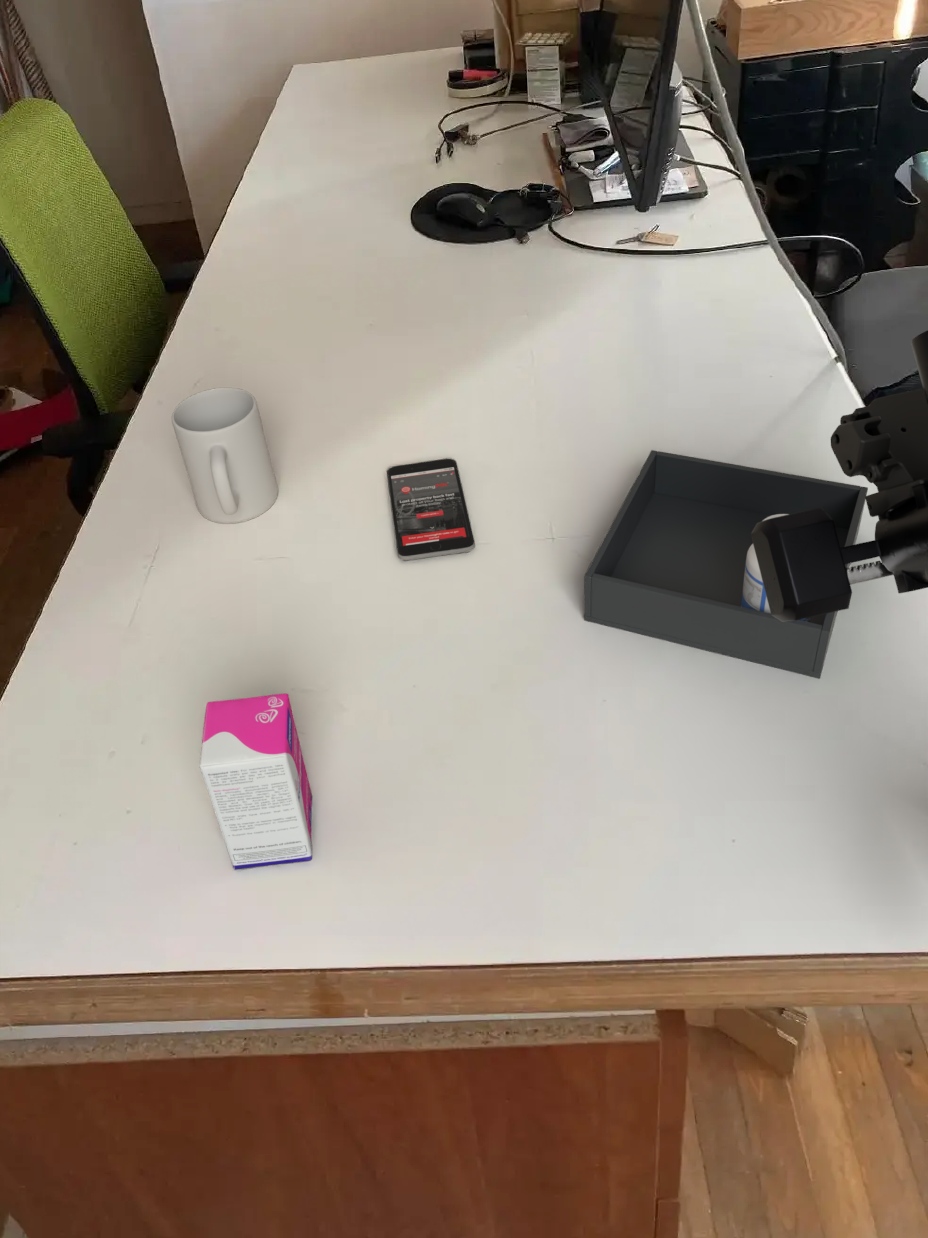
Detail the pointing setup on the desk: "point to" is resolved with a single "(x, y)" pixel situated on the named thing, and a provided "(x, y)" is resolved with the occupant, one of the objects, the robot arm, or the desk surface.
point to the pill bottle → (756, 583)
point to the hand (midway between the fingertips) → (845, 555)
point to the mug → (225, 454)
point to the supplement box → (257, 780)
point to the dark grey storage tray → (709, 559)
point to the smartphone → (429, 510)
